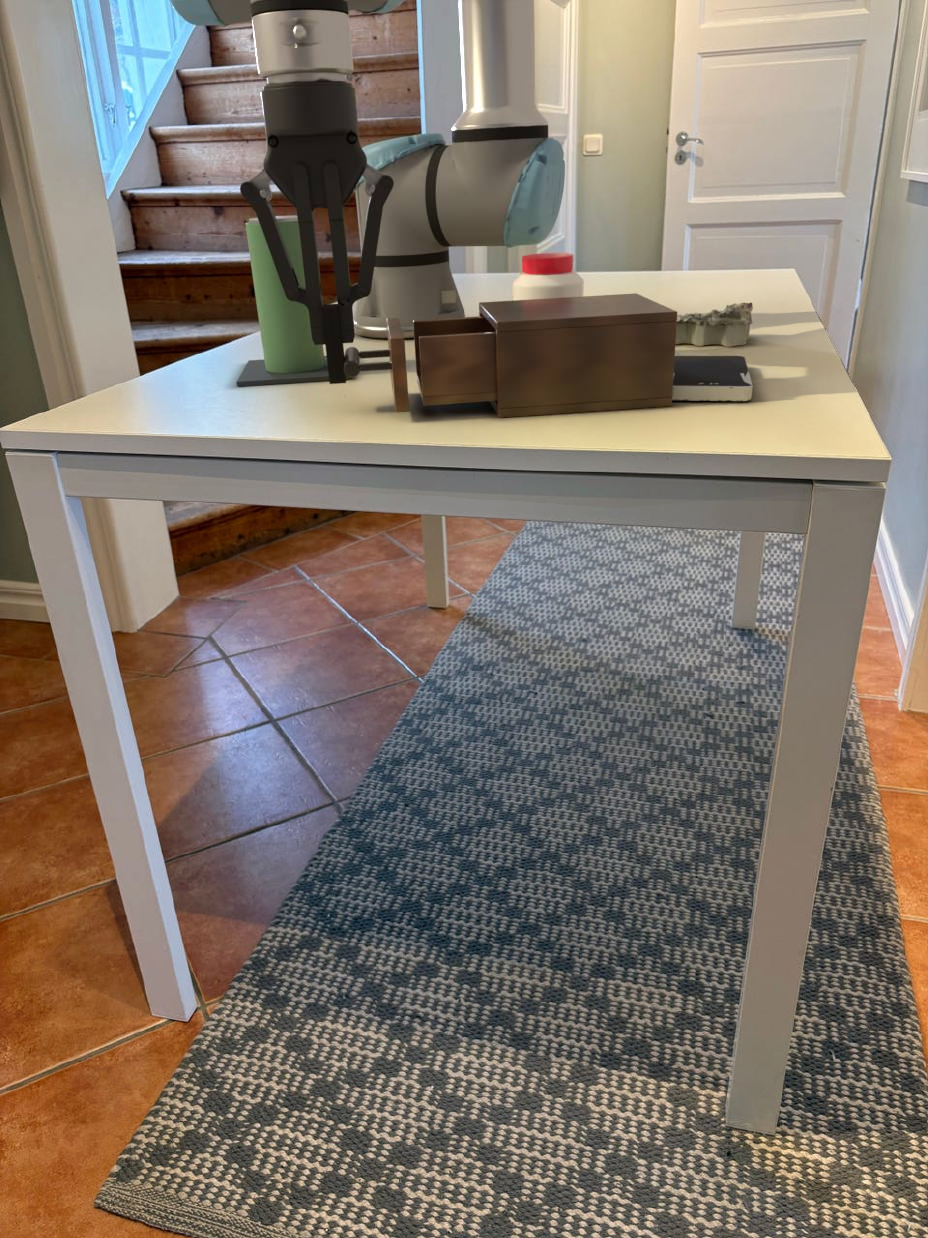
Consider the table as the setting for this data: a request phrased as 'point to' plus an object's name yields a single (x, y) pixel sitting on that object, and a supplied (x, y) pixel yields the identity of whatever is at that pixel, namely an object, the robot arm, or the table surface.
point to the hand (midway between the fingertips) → (338, 380)
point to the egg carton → (716, 326)
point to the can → (282, 304)
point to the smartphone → (711, 378)
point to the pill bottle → (547, 277)
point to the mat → (279, 375)
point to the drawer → (437, 361)
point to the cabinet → (582, 354)
